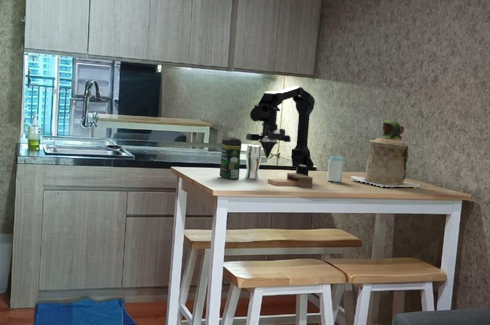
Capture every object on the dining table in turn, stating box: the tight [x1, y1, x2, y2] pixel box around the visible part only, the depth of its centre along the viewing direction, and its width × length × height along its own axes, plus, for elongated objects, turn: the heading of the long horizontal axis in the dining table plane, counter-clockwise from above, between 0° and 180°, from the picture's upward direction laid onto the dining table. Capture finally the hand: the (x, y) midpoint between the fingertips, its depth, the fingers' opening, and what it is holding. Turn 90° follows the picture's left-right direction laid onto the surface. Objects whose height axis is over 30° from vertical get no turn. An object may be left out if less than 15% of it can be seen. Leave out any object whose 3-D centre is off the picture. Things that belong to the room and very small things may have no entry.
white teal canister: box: [326, 155, 344, 183], centre depth 319 cm, size 7×7×12 cm
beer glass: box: [244, 144, 263, 180], centre depth 307 cm, size 7×7×15 cm
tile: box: [267, 178, 299, 187], centre depth 295 cm, size 8×15×2 cm, turn 112°
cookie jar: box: [350, 117, 420, 188], centre depth 322 cm, size 25×25×32 cm
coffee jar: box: [219, 136, 242, 180], centre depth 300 cm, size 10×8×19 cm
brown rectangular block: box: [286, 172, 314, 188], centre depth 296 cm, size 13×6×4 cm, turn 22°
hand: (267, 157), depth 289 cm, fingers closed
